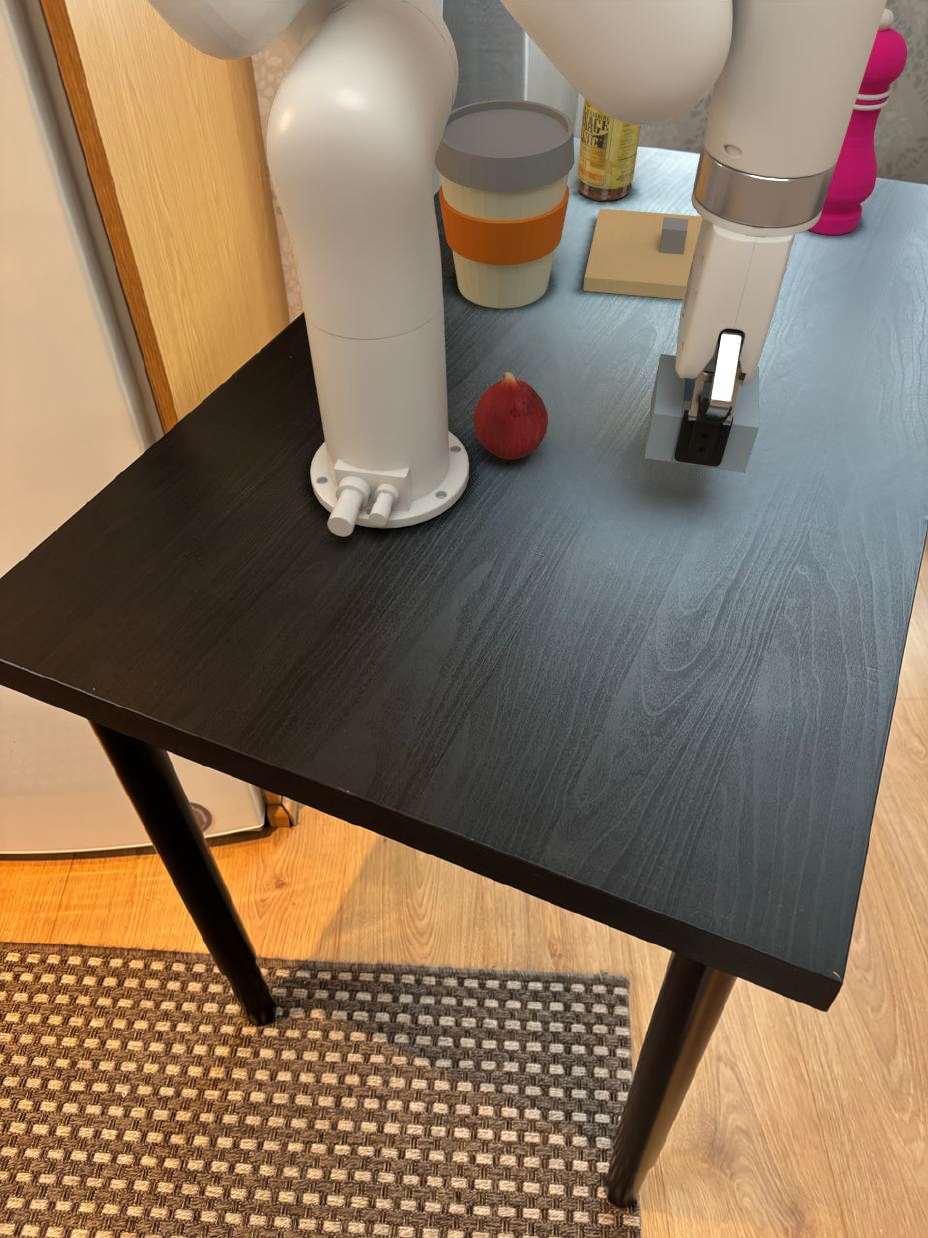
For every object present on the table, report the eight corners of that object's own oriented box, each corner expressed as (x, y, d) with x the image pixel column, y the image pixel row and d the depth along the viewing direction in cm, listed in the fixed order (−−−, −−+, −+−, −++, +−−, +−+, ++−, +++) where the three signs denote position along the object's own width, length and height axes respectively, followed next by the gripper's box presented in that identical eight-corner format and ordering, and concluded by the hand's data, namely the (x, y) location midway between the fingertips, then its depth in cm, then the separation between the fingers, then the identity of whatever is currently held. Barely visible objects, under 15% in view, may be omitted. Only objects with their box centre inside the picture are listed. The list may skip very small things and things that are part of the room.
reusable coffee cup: (589, 298, 94) (603, 140, 83) (473, 331, 91) (471, 171, 79) (529, 240, 101) (534, 88, 90) (419, 269, 98) (410, 114, 87)
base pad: (749, 305, 93) (758, 266, 90) (583, 290, 95) (586, 252, 92) (750, 233, 102) (758, 196, 99) (598, 221, 104) (601, 184, 101)
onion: (552, 440, 80) (557, 357, 74) (536, 485, 76) (541, 402, 70) (484, 429, 81) (484, 347, 75) (465, 473, 78) (464, 390, 72)
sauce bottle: (567, 183, 110) (580, -18, 95) (616, 173, 111) (637, -27, 96) (592, 209, 106) (610, 3, 91) (643, 199, 107) (669, -6, 92)
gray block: (744, 472, 67) (759, 427, 64) (644, 458, 68) (653, 412, 65) (745, 411, 72) (759, 366, 69) (651, 398, 73) (660, 353, 70)
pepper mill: (856, 205, 105) (919, -4, 90) (867, 239, 100) (936, 23, 85) (788, 203, 106) (839, -5, 90) (796, 236, 101) (852, 22, 86)
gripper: (701, 112, 62) (654, 351, 75) (689, 248, 51) (636, 500, 64) (821, 124, 61) (752, 363, 75) (835, 265, 50) (751, 516, 63)
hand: (699, 425), depth 69 cm, fingers closed on gray block, 7 cm apart
